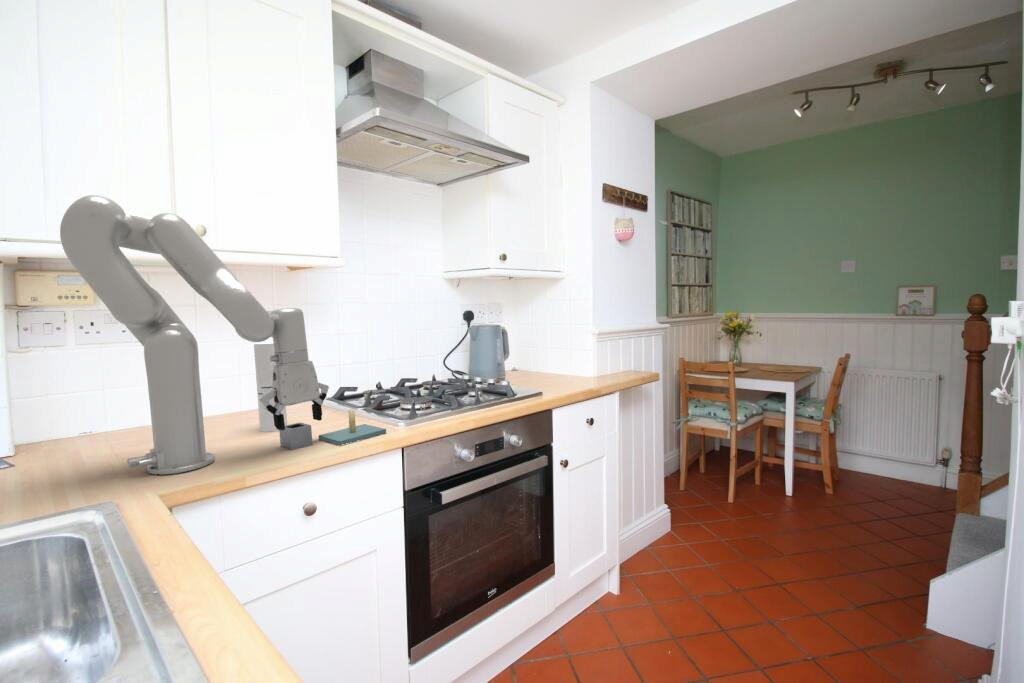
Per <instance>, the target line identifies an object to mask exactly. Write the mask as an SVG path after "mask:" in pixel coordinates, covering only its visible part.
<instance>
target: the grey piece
mask: <svg viewBox="0 0 1024 683" xmlns="http://www.w3.org/2000/svg"><path fill="white" fill-rule="evenodd" d="M253 349H254V350H253V352H254V362H255V363H254V364H255V367H254V368H255V376H256V378H255V379H256V389H257V390H256V392H257V405H258V417H259V418H258V419H259V431H260V432H262V431H263V432H264V433H270V432H277V431H278V432H279V430H278V429H277V428H276V427H275V425H274V417H273V414H272V413H271V412H269V411H268V410H266V409H265V407H264V406H263V405H262V403H261V402H260V399H261V398H262V397H264V396H265V395H266V394H268V393H269V392H270V391H272V390H273V385H272V378H273V367H274V365H276V363H275V362H274V361H273V362H271V361H270V356H273V355H274V353H275V352H274V343H273V341H265V342H264V341H263V342H254V343H253ZM269 403H270V404H271V405H272V406H274V405H275V402H274V398H272V399H271V400H270V401H269ZM281 414H283V415H284V424H285V426H286V425H288V414H287V406H285V407H284V409H283V410H282V412H281Z"/></svg>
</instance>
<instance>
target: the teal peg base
mask: <svg viewBox="0 0 1024 683" xmlns="http://www.w3.org/2000/svg"><path fill="white" fill-rule="evenodd" d="M355 411H356V410H355V409H354V408H353V409H351V408H350V409H348V410H347V412H348V413H347V414H348V427H347V428H342V429H339V430H334V431H330V432H328V433H321V434H319V435H318V440H319V441H321V442H324V441H325V443H328V442H329V444H331V443H332V445H335V444H336V445H335V446H338V445H342V444H345V445H347V444H346V443H349V444H351V443H350V442H353V441H356V442H358V441H357V440H360V441H362V440H361V439H364V440H367V439H370V437H371V438H374V437H377V436H378V437H379V436H382V435H385V434H387V428H383V427H378V426H374V425H371V424H365V423H363V424H359V425H356V412H355ZM381 434H382V435H381ZM373 436H374V437H373ZM366 438H367V439H366ZM353 443H354V442H353ZM342 446H343V445H342Z"/></svg>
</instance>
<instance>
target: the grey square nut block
mask: <svg viewBox="0 0 1024 683" xmlns="http://www.w3.org/2000/svg"><path fill="white" fill-rule="evenodd" d="M278 432H279V443H280V447H282V448H284V449H286V448H287V450H289V449H290V451H294V450H297V449H300V448H305V447H309V446H313V434H312V433H313V432H312V425H311V424H307V423H303V422H301V421H300V422H295V423H291V424H287V425H286V426H285V429H284V430H279V431H278ZM304 446H305V447H304ZM293 449H294V450H293Z"/></svg>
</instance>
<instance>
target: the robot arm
mask: <svg viewBox="0 0 1024 683" xmlns="http://www.w3.org/2000/svg"><path fill="white" fill-rule="evenodd" d="M59 228H60V229H59V236H60V242H61V246H62V249H63V251H64V253H65V255H66V257H67V259H68V260H69V262H70V264H72V266H73V268H75V271H76V272H78V274H79V275H80V277H82V279H83V280H84V281H85V282H86V283H87V285H88V286H89V287H90V289H91V291H93V292H94V293H95V295H96V296H97V298H99V299H100V301H101V302H102V303H103V305H105V307H106V308H107V310H108V311H109V312H110V313H111V315H112V317H113V318H114V319H115V320H116V321H117V322H118V323H120V324H122V325H124V326H125V327H126V328H127V330H128V331H129V332H130V333H131V334H132V335H133V337H135V339H136V340H137V341H138V342H139V343H140V344H141V345H142V346H143V358H144V363H145V371H146V378H147V389H148V391H147V392H148V400H149V409H150V421H151V429H152V430H151V431H152V440H153V448H150V449H149V452H148V453H145V454H144V455H141V456H135V457H132V458H131V457H130V458H128V459H127V466H128V468H134V467H139V468H141V467H146V472H147V471H148V472H147V473H148V474H150V473H151V474H152V475H157V474H159V476H160V475H172V474H179V473H185V472H190V471H194V470H198V469H200V468H201V469H202V468H204V467H206V466H208V465H210V464H212V463H213V462H214V461H215V454H213V453H212V452H209V451H207V449H206V436H205V426H204V414H203V413H204V412H203V402H202V391H201V390H202V389H201V378H200V363H199V362H200V361H199V347H198V342H197V339H196V337H195V335H194V334H193V333H192V332H191V331H190V329H189V328H188V326H186V324H185V323H184V322H183V320H181V318H180V317H179V316H178V314H176V312H175V311H174V309H172V307H171V306H170V305H169V304H168V302H167V301H166V300H165V299H164V298H163V296H162V295H161V294H160V292H158V291H157V290H156V289H155V288H153V287H152V286H151V285H150V284H149V283H148V282H147V281H146V280H145V279H144V278H143V277H142V275H141V274H140V273H139V272H138V271H137V269H136V268H135V267H134V266H133V264H132V262H131V261H130V260H129V259H128V257H127V256H126V255H125V254H124V252H123V251H122V249H121V248H123V249H129V250H133V251H139V252H143V253H149V254H150V253H151V254H156V255H161V256H162V257H163V258H164V260H165V261H167V263H168V264H169V265H170V266H171V267H172V268H173V269H174V270H175V271H176V273H177V274H179V276H180V277H181V278H183V280H184V281H185V282H186V283H187V285H188V286H190V288H192V289H193V290H194V291H195V292H196V293H197V294H198V295H200V297H202V298H204V299H205V300H207V301H208V302H209V303H210V304H211V305H212V306H213V307H214V308H216V310H217V311H219V313H220V314H221V315H222V316H223V317H224V318H225V319H226V320H227V321H228V323H230V325H231V326H232V327H234V330H235V333H236V334H237V335H238V336H239V337H240V338H241V339H243V340H246V341H248V342H250V343H263V342H264V341H265V342H266V340H269V339H270V338H272V342H273V343H274V352H275V353H274V355H273V356H270V361H271V362H273V361H274V362H275V363H276V365H274V367H273V378H272V385H273V390H272V391H270V392H269V393H268V394H266V395H265V396H264V397H262V398H261V399H260V402H261V403H262V405H263V406H264V407H265V409H266V410H268V411H269V412H271V413H272V414H273V417H274V425H275V427H276V428H277V429H278V430H284V429H285V424H284V415H283V414H281V412H282V410H283V409H284V407H285V406H286V407H287V406H293V405H297V404H302V403H306V402H312V403H313V404H311V411H312V412H311V413H312V419H313V420H316V421H322V420H323V419H322V418H323V417H322V416H323V410H322V405H323V403H324V400H325V399H326V398H327V394H328V391H329V388H330V386H329V385H327V384H324V383H320V382H319V380H318V376H317V372H316V369H315V365H314V363H313V360H309V352H308V343H307V342H308V341H307V335H306V326H305V325H306V324H305V316H304V315H305V314H304V312H303V310H302V309H301V308H298V307H290V308H289V307H287V308H277V309H274V310H266V308H264V306H263V305H262V304H261V303H260V302H259V301H258V300H257V299H256V297H255V296H254V295H253V294H252V292H250V290H248V289H247V287H246V286H245V285H244V284H242V282H241V281H240V280H239V279H238V278H237V277H236V275H235V274H234V273H233V272H232V271H231V270H230V269H229V268H228V267H227V265H226V264H225V263H224V262H223V261H222V260H221V259H220V258H219V257H218V255H217V254H216V253H215V252H214V251H213V250H212V249H211V247H210V246H208V244H207V243H206V242H205V240H203V239H202V237H200V235H199V234H198V233H197V232H196V231H195V230H194V228H193V227H192V226H191V225H190V224H189V223H188V222H187V221H186V220H185V219H184V218H183V217H181V216H180V215H177V214H175V213H169V212H168V213H159V214H157V215H154V216H153V215H148V214H143V213H140V212H135V211H130V210H127V209H123V208H122V207H121V205H120V204H118V203H117V202H115V201H114V200H112V199H110V198H108V197H105V196H101V195H94V194H91V195H85V196H82V197H80V198H78V199H76V200H75V201H73V203H72V204H70V205H69V207H68V208H67V209H66V211H65V212H64V214H63V216H62V219H61V223H60V226H59ZM272 398H274V402H275V405H274V406H272V405H271V404H270V403H269V401H270V400H271V399H272Z"/></svg>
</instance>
